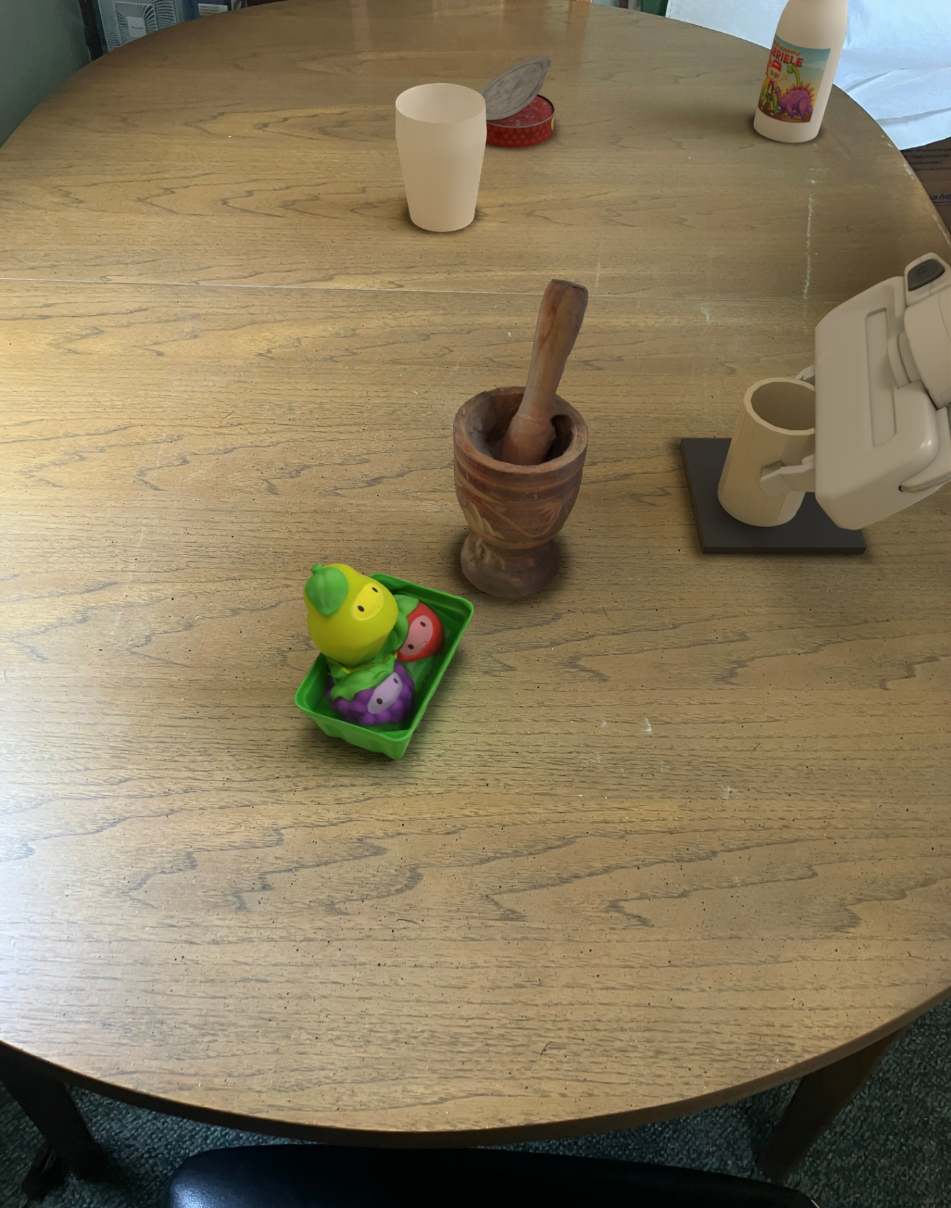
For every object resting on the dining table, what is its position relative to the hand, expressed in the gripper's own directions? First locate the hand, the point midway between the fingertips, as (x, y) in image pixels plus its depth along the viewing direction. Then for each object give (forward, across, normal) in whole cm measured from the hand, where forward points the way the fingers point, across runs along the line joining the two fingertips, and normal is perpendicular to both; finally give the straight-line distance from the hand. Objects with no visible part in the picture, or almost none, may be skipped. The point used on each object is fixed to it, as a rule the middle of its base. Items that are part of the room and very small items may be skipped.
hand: (765, 448), depth 69 cm
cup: (+28, +36, +19) cm, 50 cm away
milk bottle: (+3, +66, -6) cm, 66 cm away
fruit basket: (+21, -23, +11) cm, 33 cm away
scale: (+3, +1, -6) cm, 7 cm away
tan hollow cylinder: (+3, 0, -4) cm, 5 cm away
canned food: (+26, +57, +16) cm, 65 cm away
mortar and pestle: (+16, -8, +7) cm, 20 cm away
